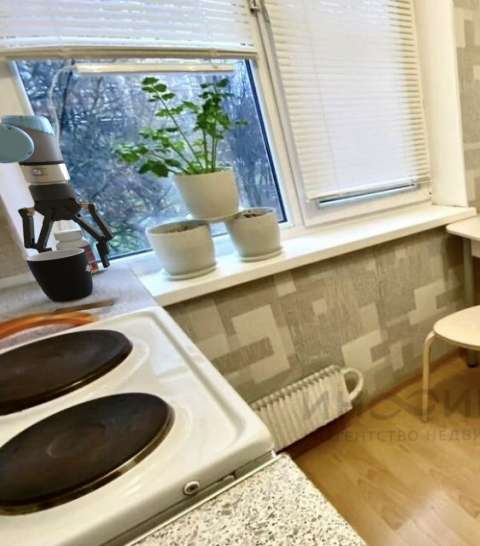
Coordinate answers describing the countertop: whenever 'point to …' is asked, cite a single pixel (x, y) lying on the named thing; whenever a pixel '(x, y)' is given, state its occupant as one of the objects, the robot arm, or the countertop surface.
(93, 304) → the cork mat
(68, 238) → the pill bottle
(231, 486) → the countertop surface
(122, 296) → the countertop surface
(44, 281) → the mug
